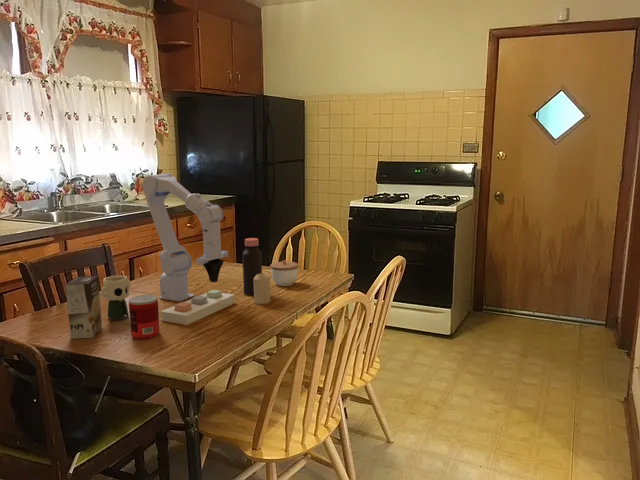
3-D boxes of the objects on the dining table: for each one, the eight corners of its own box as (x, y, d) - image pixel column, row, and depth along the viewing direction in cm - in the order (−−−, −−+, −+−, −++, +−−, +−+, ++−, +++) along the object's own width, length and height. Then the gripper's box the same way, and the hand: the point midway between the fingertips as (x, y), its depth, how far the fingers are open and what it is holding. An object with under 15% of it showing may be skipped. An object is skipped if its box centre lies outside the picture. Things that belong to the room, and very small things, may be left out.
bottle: (240, 294, 201) (238, 240, 197) (249, 290, 207) (247, 237, 203) (256, 296, 198) (255, 241, 195) (265, 291, 204) (264, 238, 201)
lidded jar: (304, 282, 217) (303, 259, 215) (287, 289, 208) (287, 264, 206) (281, 279, 222) (281, 256, 221) (265, 285, 213) (264, 261, 212)
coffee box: (93, 338, 158) (88, 283, 155) (69, 339, 158) (64, 284, 155) (102, 327, 167) (98, 275, 164) (80, 328, 167) (76, 276, 164)
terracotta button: (174, 313, 174) (174, 304, 173) (182, 310, 177) (182, 301, 176) (184, 315, 172) (183, 306, 172) (191, 311, 175) (191, 303, 175)
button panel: (161, 320, 173) (160, 311, 173) (211, 299, 195) (210, 291, 195) (186, 325, 169) (186, 315, 168) (234, 303, 191) (234, 294, 190)
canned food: (165, 332, 163) (163, 295, 161) (148, 341, 156) (145, 303, 153) (143, 329, 165) (140, 293, 163) (125, 338, 158) (122, 301, 156)
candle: (267, 304, 188) (267, 276, 187) (252, 304, 190) (251, 275, 188) (272, 300, 194) (271, 272, 192) (257, 299, 195) (256, 271, 193)
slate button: (191, 306, 181) (191, 298, 180) (198, 303, 184) (198, 295, 184) (200, 308, 179) (200, 299, 179) (207, 305, 182) (207, 296, 182)
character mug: (112, 325, 169) (108, 283, 167) (96, 321, 173) (92, 280, 171) (139, 315, 179) (137, 275, 176) (124, 311, 182) (121, 273, 180)
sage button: (206, 300, 188) (206, 292, 187) (213, 297, 191) (213, 289, 191) (215, 301, 186) (215, 293, 186) (222, 298, 189) (221, 290, 189)
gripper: (208, 246, 177) (210, 288, 179) (234, 239, 190) (236, 277, 192) (190, 245, 180) (192, 285, 182) (217, 237, 193) (219, 275, 195)
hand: (213, 281), depth 188 cm, fingers closed
